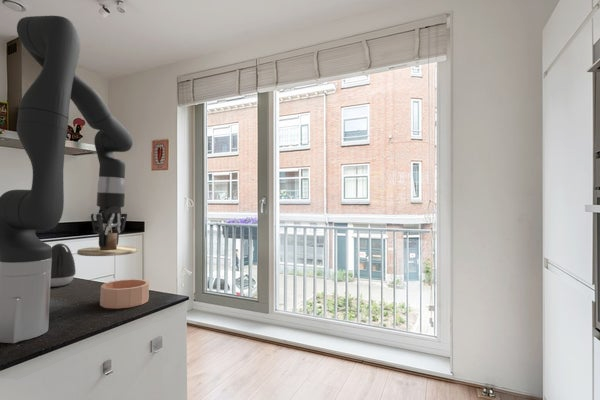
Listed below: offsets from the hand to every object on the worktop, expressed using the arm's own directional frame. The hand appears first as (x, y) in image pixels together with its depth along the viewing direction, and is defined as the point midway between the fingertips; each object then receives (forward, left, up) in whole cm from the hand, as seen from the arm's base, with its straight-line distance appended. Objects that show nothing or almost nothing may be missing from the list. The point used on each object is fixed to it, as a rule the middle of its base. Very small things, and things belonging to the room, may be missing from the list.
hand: (108, 245), depth 99 cm
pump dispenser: (+13, +30, -17) cm, 37 cm away
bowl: (0, -6, -17) cm, 18 cm away
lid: (0, 0, -2) cm, 2 cm away
